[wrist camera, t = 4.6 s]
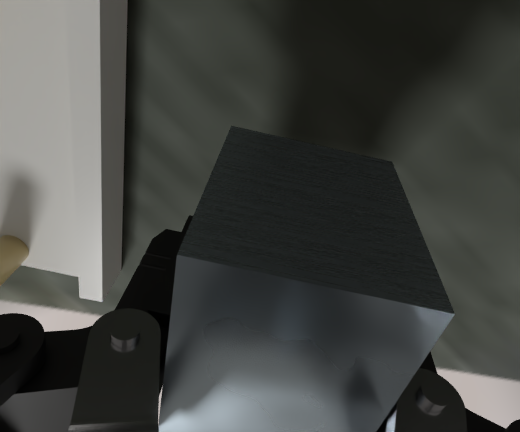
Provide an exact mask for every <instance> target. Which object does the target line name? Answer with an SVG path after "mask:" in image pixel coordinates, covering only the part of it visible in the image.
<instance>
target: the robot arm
mask: <svg viewBox="0 0 520 432" xmlns="http://www.w3.org/2000/svg"><path fill="white" fill-rule="evenodd" d="M192 218H193V216H189V217H188V219H187V221H186V223H185V226H184V228H183V230H182V232H178V231H173V230H168V229H166V230H164V231H163V232H161V233H160V234H159V235H157V236H156V237H154V238H153V239H152V241H151V243H150V245H149V247H148V249H147V250H146V253H145V255H144V256H143V258H142V260H141V262H140V265H139V266H138V267H137V269H136V271H135V273H134V275H133V277H132V279H131V281H130V282H129V284H128V286H127V288H126V290H125V292H124V294H123V296H122V298H121V299H120V301H119V303H118V305H117V307H116V308H115V310H114V311H111V312H109V313H107V314H105V315H103V316H102V317H100V318H99V319H98V320H97V321H96V322H95V323H94V325H93V326H90V327H87V328H83V329H78V330H66V331H51V332H44V329H43V327H42V325H41V324H40V323H39V321H37V320H36V319H35V318H33V317H31V316H28V315H24V314H17V313H10V314H2V315H0V432H159V427H158V403H159V394H160V391H161V388H162V385H163V380H164V370H165V361H166V352H167V343H168V333H169V324H170V315H171V305H172V296H173V287H174V278H175V268H176V259H177V254H178V251H179V249H180V246H181V244H182V242H183V239H184V237H185V235H186V232H187V230H188V227H189V225H190V223H191V220H192ZM376 432H520V419H519V420H516V421H514V422H512V423H511V424H510V425H509V426H508V427H507V428H506V429H505V428H503V427H501V426H499V425H497V424H495V423H493V422H491V421H489V420H487V419H485V418H483V417H481V416H479V415H477V414H475V413H473V412H471V411H470V410H468V409H466V408H465V406H464V403H463V401H462V399H461V397H460V395H459V393H458V392H457V391H456V389H455V388H454V387H453V386H452V385H451V384H450V383H449V382H448V381H447V380H445V379H444V378H443V377H441V376H440V375H438V374H437V371H436V368H435V365H434V362H433V358H432V355H431V352H429V354H428V355H427V357H426V358H425V360H424V361H423V363H422V364H421V366H420V367H419V369H418V370H417V372H416V373H415V375H414V376H413V378H412V379H411V381H410V382H409V384H408V385H407V387H406V388H405V390H404V391H403V393H402V394H401V396H400V397H399V399H398V400H397V402H396V403H395V405H394V406H393V408H392V409H391V411H390V412H389V413H388V415H387V416H386V418H385V419H384V421H383V422H382V424H381V425H380V427H379V428H378V430H377V431H376Z"/></svg>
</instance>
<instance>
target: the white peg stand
mask: <svg viewBox="0 0 520 432" xmlns="http://www.w3.org/2000/svg"><path fill="white" fill-rule="evenodd" d="M127 4H128V0H0V286H1V285H2V284H3V283H4V282H5V281H6V280H7V279H8V277H9V276H10V275H11V274H12V273H13V272H14V271H15V270H16V269H17V268H18V267H19V266H20V265H23V266H28V267H33V268H38V269H43V270H48V271H53V272H57V273H62V274H67V275H72V276H77V277H79V295H80V298H85V299H90V300H94V301H99V302H103V300H104V299H105V297H106V295H107V294H108V292H109V290H110V289H111V287H112V285H113V284H114V282H115V280H116V279H117V277H118V275H119V274H120V272H121V266H122V222H123V178H124V135H125V91H126V47H127Z"/></svg>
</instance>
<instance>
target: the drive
mask: <svg viewBox="0 0 520 432" xmlns="http://www.w3.org/2000/svg"><path fill="white" fill-rule="evenodd" d="M454 315H455V313H454V311H453V308H452V306H451V303H450V301H449V298H448V296H447V294H446V291H445V289H444V286H443V284H442V281H441V279H440V277H439V274H438V272H437V269H436V267H435V265H434V262H433V260H432V257H431V255H430V252H429V250H428V248H427V245H426V243H425V240H424V238H423V235H422V233H421V231H420V228H419V226H418V223H417V221H416V219H415V216H414V214H413V211H412V209H411V206H410V204H409V202H408V199H407V197H406V194H405V192H404V189H403V187H402V185H401V182H400V180H399V177H398V175H397V172H396V170H395V168H394V165H393V163H392V162H391V161H386V160H382V159H377V158H373V157H368V156H364V155H360V154H355V153H351V152H346V151H342V150H337V149H333V148H328V147H324V146H319V145H315V144H310V143H306V142H301V141H297V140H293V139H288V138H284V137H279V136H275V135H270V134H266V133H261V132H257V131H252V130H248V129H243V128H239V127H234V126H231V128H230V130H229V133H228V135H227V137H226V140H225V142H224V145H223V147H222V149H221V152H220V154H219V156H218V159H217V161H216V164H215V166H214V168H213V171H212V173H211V175H210V178H209V180H208V182H207V185H206V187H205V190H204V192H203V194H202V197H201V199H200V201H199V204H198V206H197V209H196V211H195V213H194V216H193V218H192V220H191V223H190V225H189V227H188V230H187V232H186V235H185V237H184V239H183V242H182V244H181V246H180V249H179V251H178V254H177V259H176V268H175V278H174V287H173V296H172V305H171V315H170V324H169V333H168V343H167V352H166V361H165V370H164V380H163V389H162V398H161V407H160V417H159V426H158V427H159V432H376V431H377V430H378V428H379V427H380V425H381V424H382V422H383V421H384V419H385V418H386V416H387V415H388V413H389V412H390V411H391V409H392V408H393V406H394V405H395V403H396V402H397V400H398V399H399V397H400V396H401V394H402V393H403V391H404V390H405V388H406V387H407V385H408V384H409V382H410V381H411V379H412V378H413V376H414V375H415V373H416V372H417V370H418V369H419V367H420V366H421V364H422V363H423V361H424V360H425V358H426V357H427V355H428V354H429V352H430V351H431V349H432V348H433V346H434V345H435V343H436V342H437V340H438V339H439V337H440V336H441V334H442V333H443V331H444V330H445V328H446V327H447V325H448V324H449V322H450V321H451V319H452V318H453V316H454Z"/></svg>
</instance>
